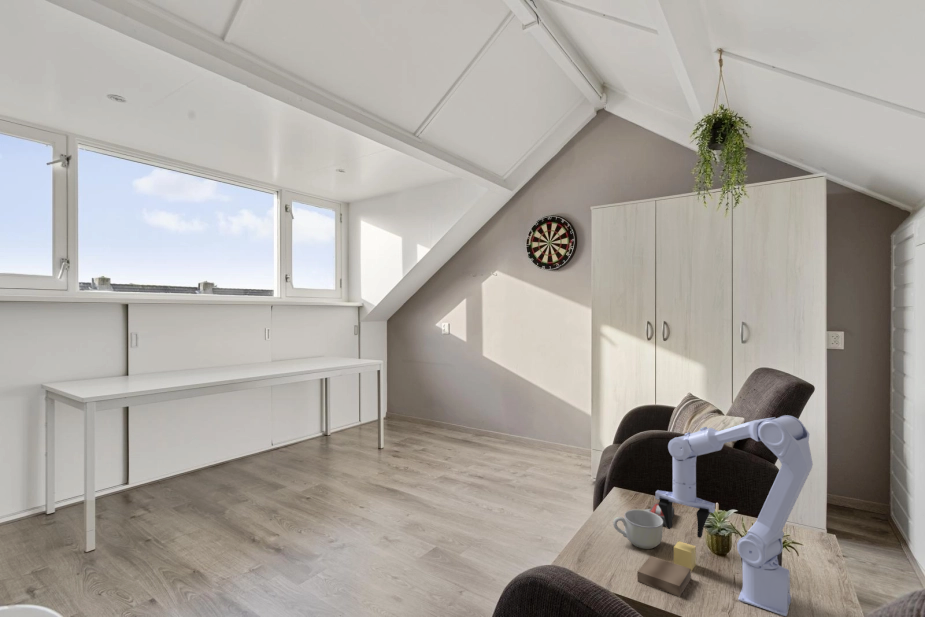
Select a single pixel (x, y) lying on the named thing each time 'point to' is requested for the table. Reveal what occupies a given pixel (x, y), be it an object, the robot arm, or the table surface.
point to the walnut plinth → (664, 575)
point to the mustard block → (685, 555)
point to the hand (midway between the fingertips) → (684, 531)
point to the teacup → (641, 528)
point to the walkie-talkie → (659, 512)
